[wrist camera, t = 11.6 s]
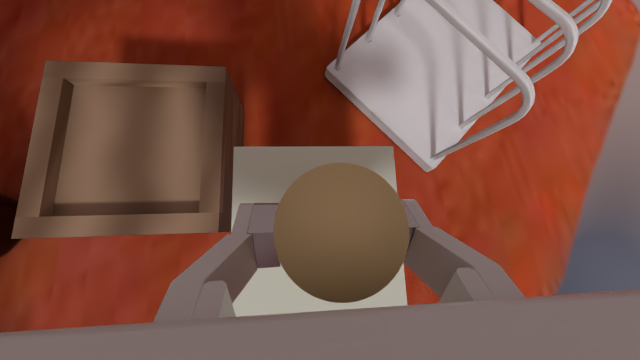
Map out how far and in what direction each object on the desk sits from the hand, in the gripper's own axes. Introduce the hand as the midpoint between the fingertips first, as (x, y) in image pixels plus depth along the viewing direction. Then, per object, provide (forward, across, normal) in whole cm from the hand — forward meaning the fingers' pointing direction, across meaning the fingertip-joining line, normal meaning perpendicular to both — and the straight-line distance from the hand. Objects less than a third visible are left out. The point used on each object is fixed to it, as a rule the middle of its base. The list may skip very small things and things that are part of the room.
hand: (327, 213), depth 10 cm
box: (+17, +14, +8) cm, 24 cm away
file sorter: (+28, -17, -1) cm, 33 cm away
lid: (+4, 0, +5) cm, 6 cm away
